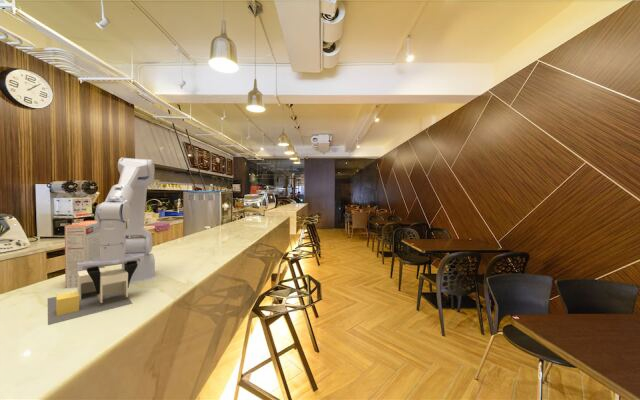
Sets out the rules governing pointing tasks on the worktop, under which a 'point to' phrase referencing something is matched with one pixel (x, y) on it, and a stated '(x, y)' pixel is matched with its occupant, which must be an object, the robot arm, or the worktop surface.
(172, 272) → the worktop surface
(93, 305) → the mat
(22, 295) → the worktop surface
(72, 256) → the cracker box
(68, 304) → the cube
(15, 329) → the worktop surface
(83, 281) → the box
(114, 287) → the box
